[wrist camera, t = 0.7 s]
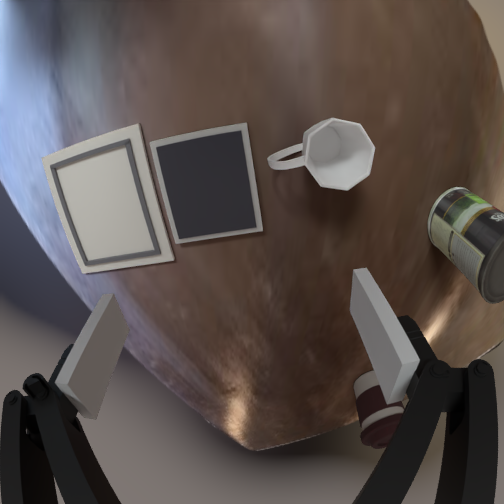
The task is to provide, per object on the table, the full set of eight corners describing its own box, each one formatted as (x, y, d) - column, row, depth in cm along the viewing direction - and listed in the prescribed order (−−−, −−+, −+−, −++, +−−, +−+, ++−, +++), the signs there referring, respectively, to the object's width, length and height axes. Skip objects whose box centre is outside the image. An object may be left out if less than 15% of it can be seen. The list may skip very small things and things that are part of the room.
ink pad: (152, 141, 32) (148, 142, 31) (246, 122, 31) (246, 123, 30) (177, 240, 38) (175, 245, 37) (262, 227, 37) (263, 231, 36)
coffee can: (442, 176, 34) (510, 217, 22) (484, 198, 36) (544, 239, 23) (415, 241, 39) (468, 300, 27) (459, 255, 40) (509, 307, 28)
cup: (353, 164, 34) (380, 182, 27) (273, 184, 35) (281, 208, 28) (341, 107, 30) (368, 111, 23) (257, 127, 31) (260, 135, 24)
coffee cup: (347, 371, 52) (367, 437, 39) (395, 359, 51) (421, 420, 38) (345, 397, 57) (360, 457, 44) (388, 386, 56) (408, 442, 43)
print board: (43, 156, 31) (39, 158, 30) (139, 123, 31) (137, 124, 30) (84, 271, 40) (81, 275, 39) (174, 258, 39) (173, 262, 38)
